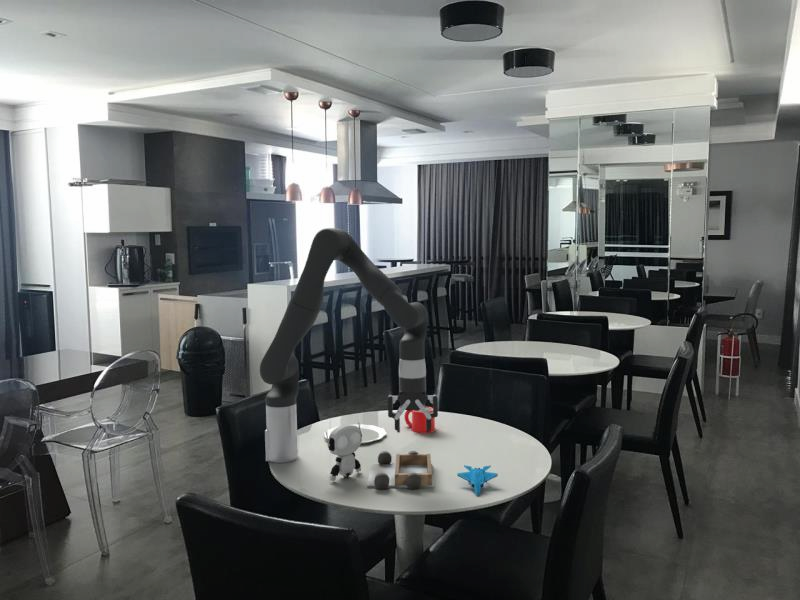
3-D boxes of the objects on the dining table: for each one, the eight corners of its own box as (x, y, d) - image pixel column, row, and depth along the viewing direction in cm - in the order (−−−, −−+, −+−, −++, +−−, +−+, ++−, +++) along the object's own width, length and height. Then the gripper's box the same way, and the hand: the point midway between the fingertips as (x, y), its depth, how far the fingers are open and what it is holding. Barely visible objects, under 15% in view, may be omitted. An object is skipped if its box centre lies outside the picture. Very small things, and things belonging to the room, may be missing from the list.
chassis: (366, 489, 177) (366, 475, 176) (371, 464, 197) (371, 451, 196) (434, 489, 176) (433, 475, 176) (431, 463, 196) (431, 450, 196)
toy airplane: (453, 482, 182) (452, 467, 181) (482, 475, 186) (482, 460, 185) (477, 496, 171) (476, 481, 171) (508, 488, 176) (507, 473, 175)
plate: (312, 437, 225) (312, 432, 225) (360, 425, 238) (360, 420, 238) (349, 451, 209) (348, 446, 209) (398, 438, 223) (398, 433, 223)
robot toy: (335, 485, 180) (334, 432, 179) (325, 481, 183) (323, 429, 182) (368, 474, 189) (367, 422, 187) (358, 470, 192) (357, 419, 190)
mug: (410, 425, 237) (410, 403, 236) (439, 430, 230) (439, 408, 229) (398, 430, 231) (397, 408, 230) (426, 436, 224) (426, 413, 223)
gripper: (386, 377, 180) (387, 436, 182) (438, 377, 180) (439, 435, 181) (387, 371, 188) (388, 428, 189) (437, 371, 187) (438, 427, 189)
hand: (413, 431), depth 185 cm, fingers open, 7 cm apart
